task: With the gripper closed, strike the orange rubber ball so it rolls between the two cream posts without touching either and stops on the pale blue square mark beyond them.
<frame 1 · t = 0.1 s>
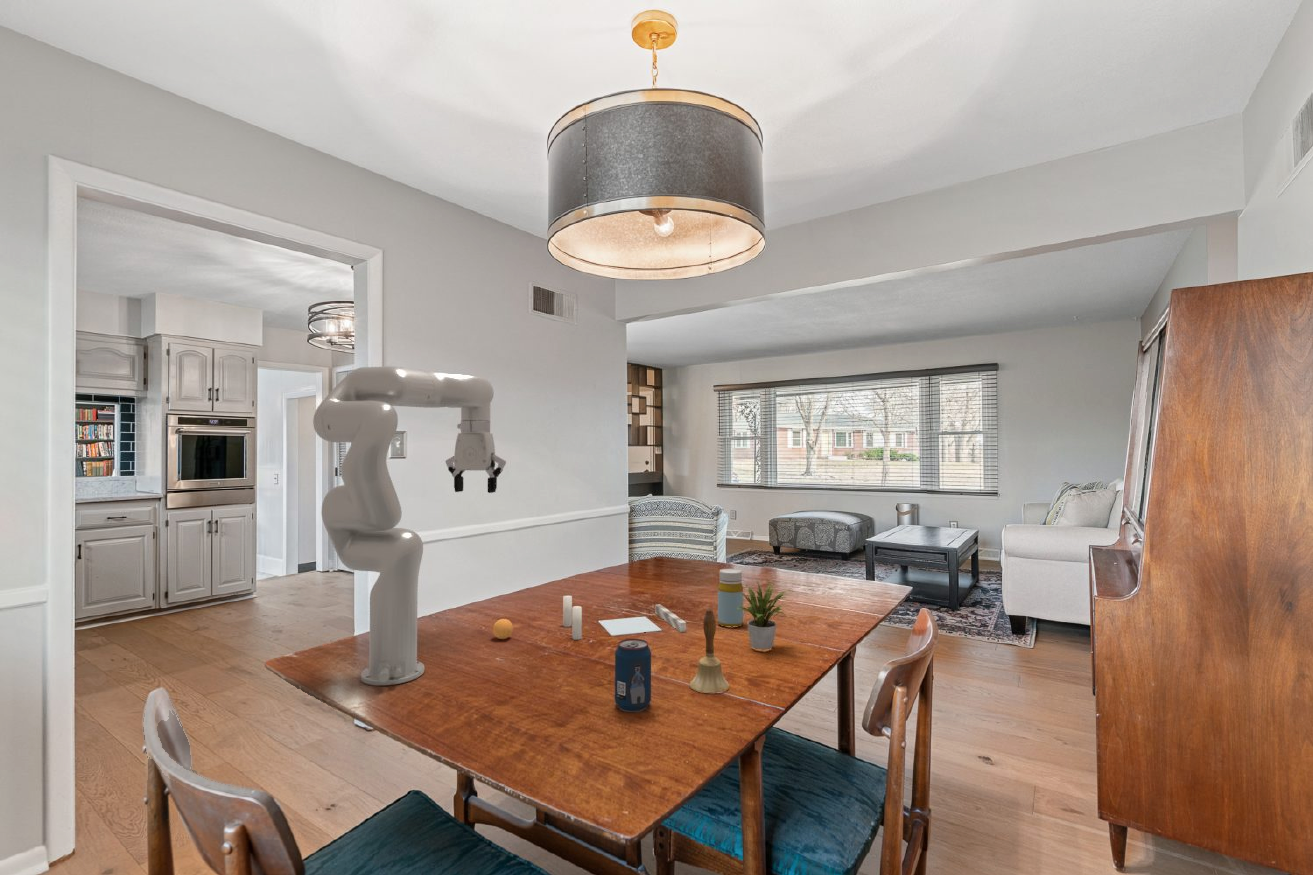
hand: (475, 491, 166), 37 cm above the table, tool pointing down, fingers open, 9 cm apart
post far: (567, 625, 171), on the table
bottle: (730, 625, 172), on the table
house plant: (764, 651, 151), on the table
post near: (576, 638, 160), on the table
ball: (502, 628, 159), on the table
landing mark: (629, 626, 171), on the table
soda can: (632, 707, 119), on the table
hand bell: (709, 687, 129), on the table
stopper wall: (669, 621, 175), on the table
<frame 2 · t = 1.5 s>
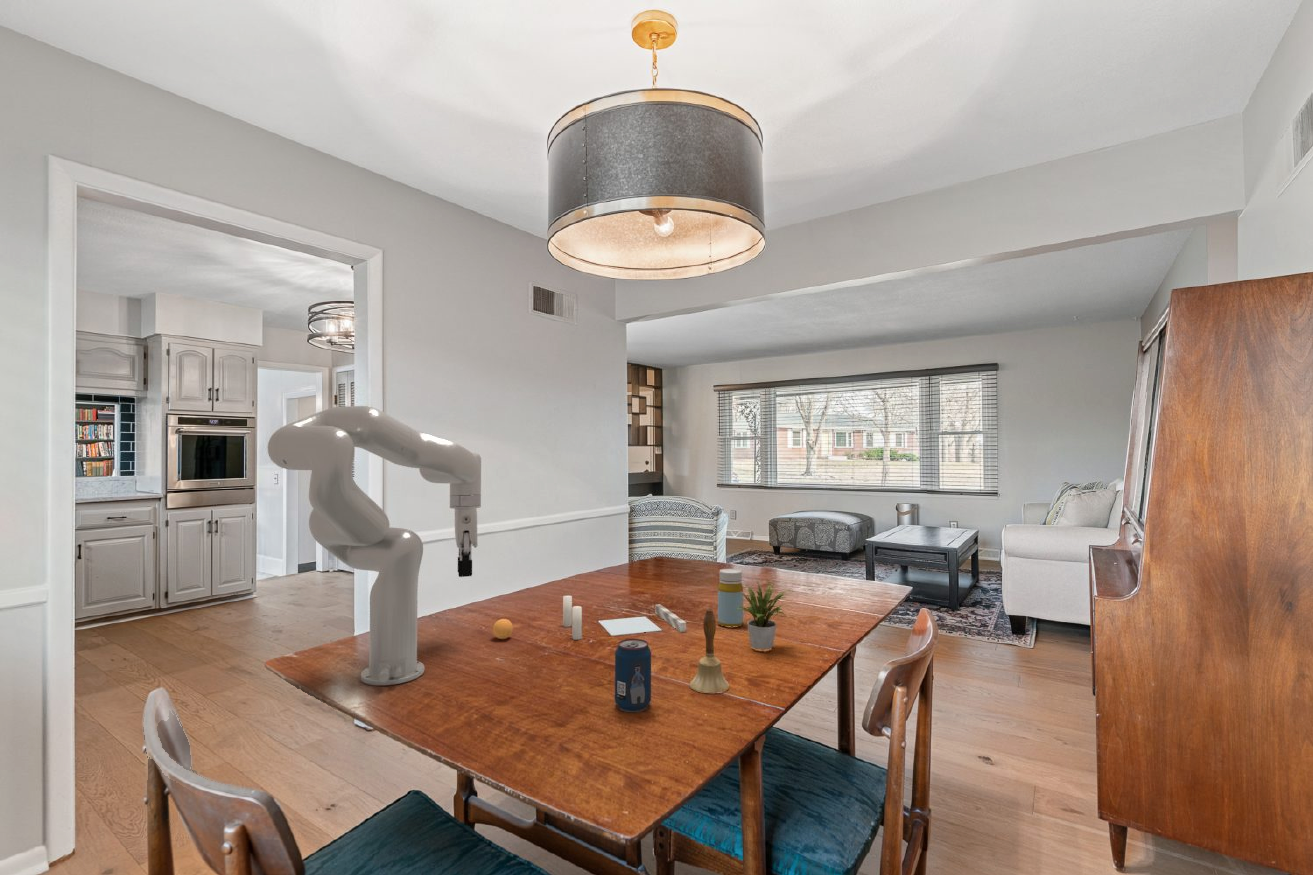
hand: (464, 573, 156), 17 cm above the table, tool pointing down, fingers open, 4 cm apart
nothing on the table moved.
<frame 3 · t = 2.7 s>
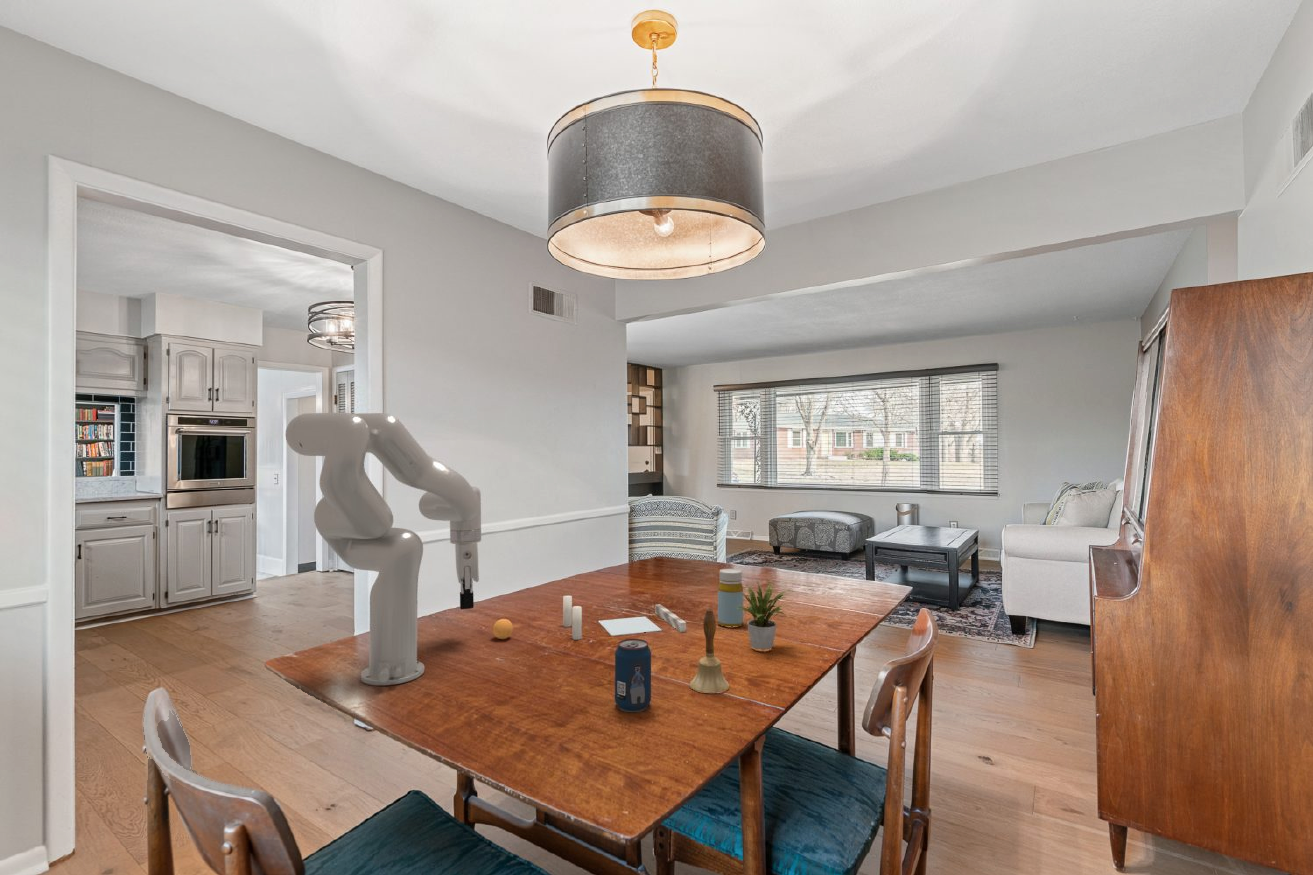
hand: (466, 607, 157), 8 cm above the table, tool pointing down, fingers closed
nothing on the table moved.
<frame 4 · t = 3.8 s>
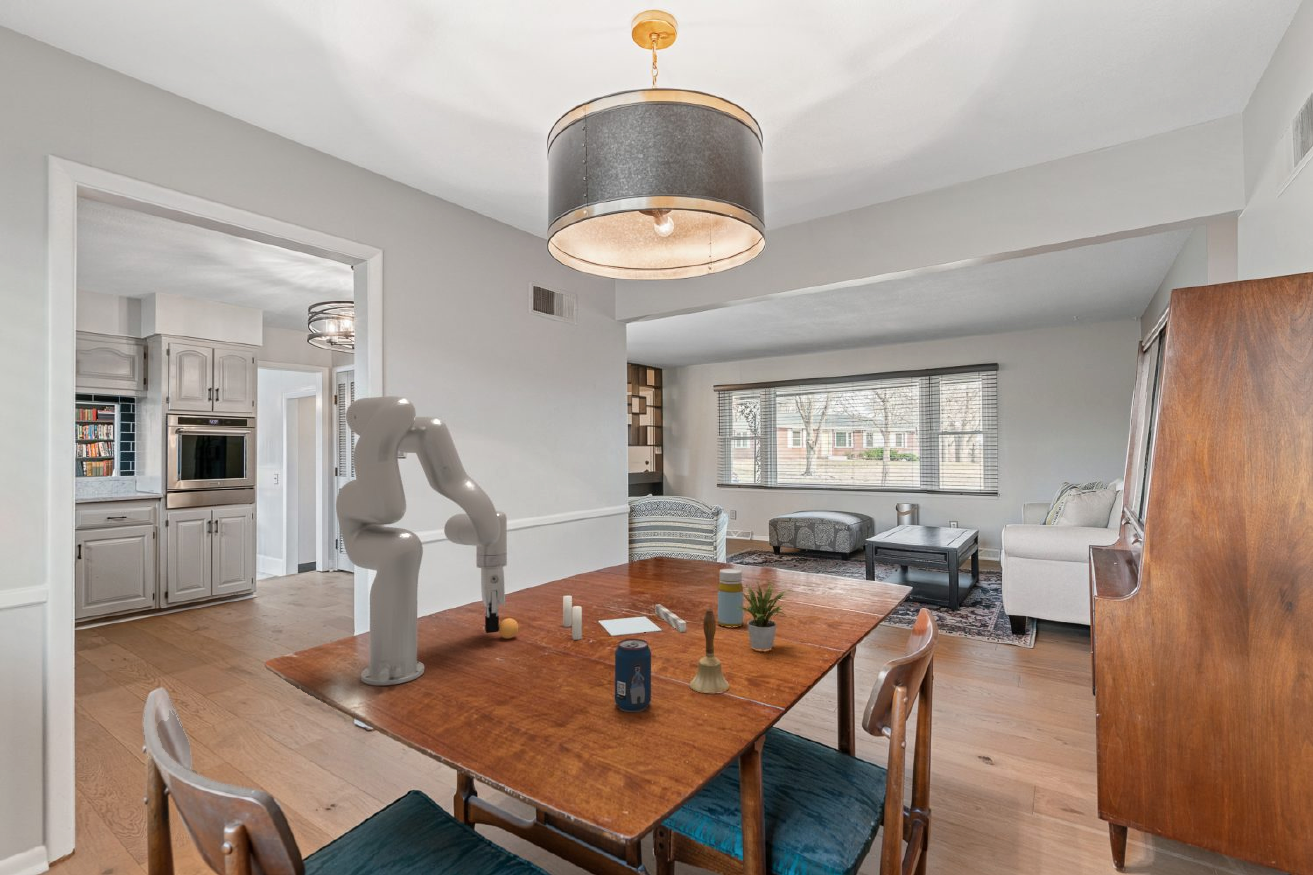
hand: (491, 631, 159), 2 cm above the table, tool pointing down, fingers closed
ball: (508, 628, 160), on the table
everything else where it was.
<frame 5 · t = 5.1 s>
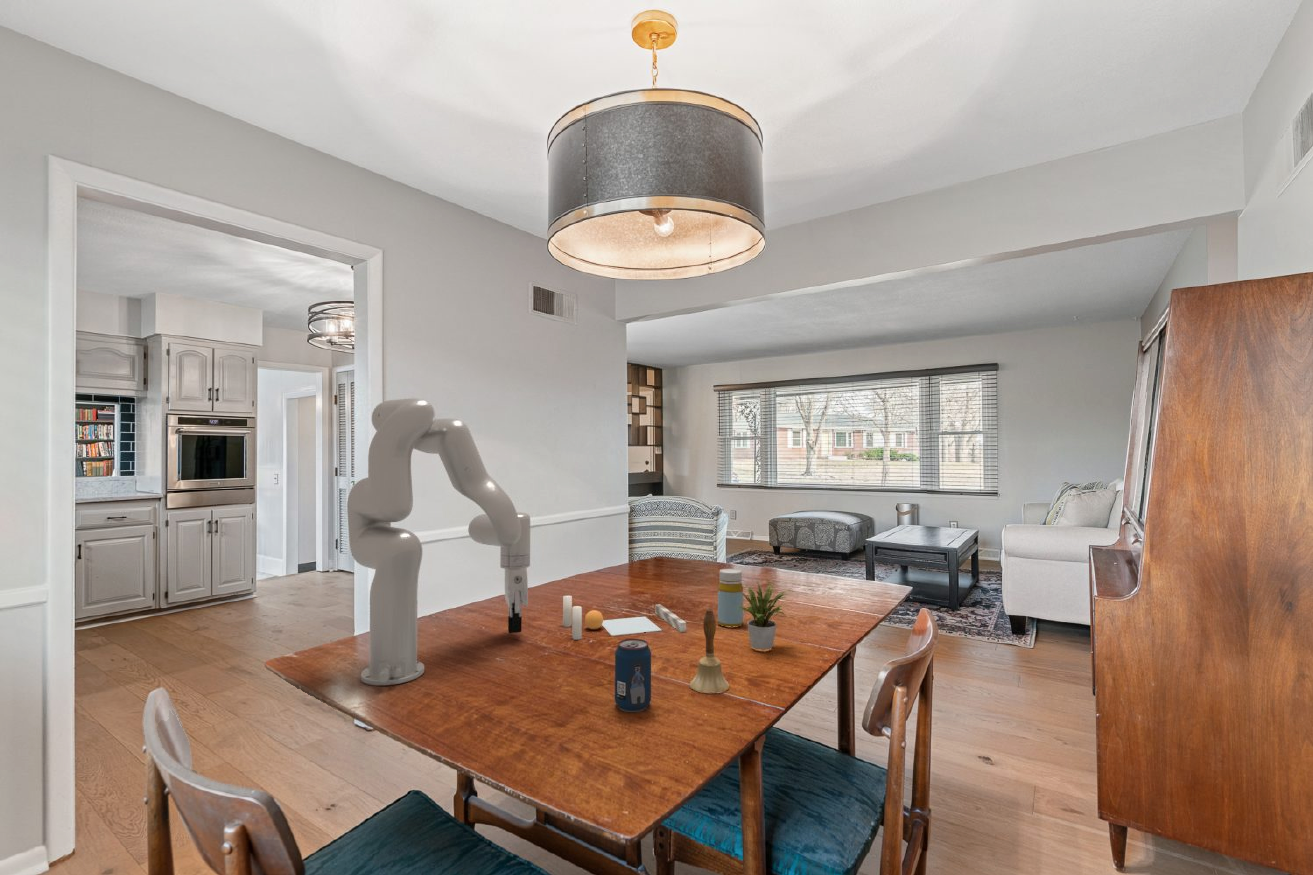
hand: (514, 631, 160), 2 cm above the table, tool pointing down, fingers closed
ball: (594, 619, 168), on the table
everything else where it was.
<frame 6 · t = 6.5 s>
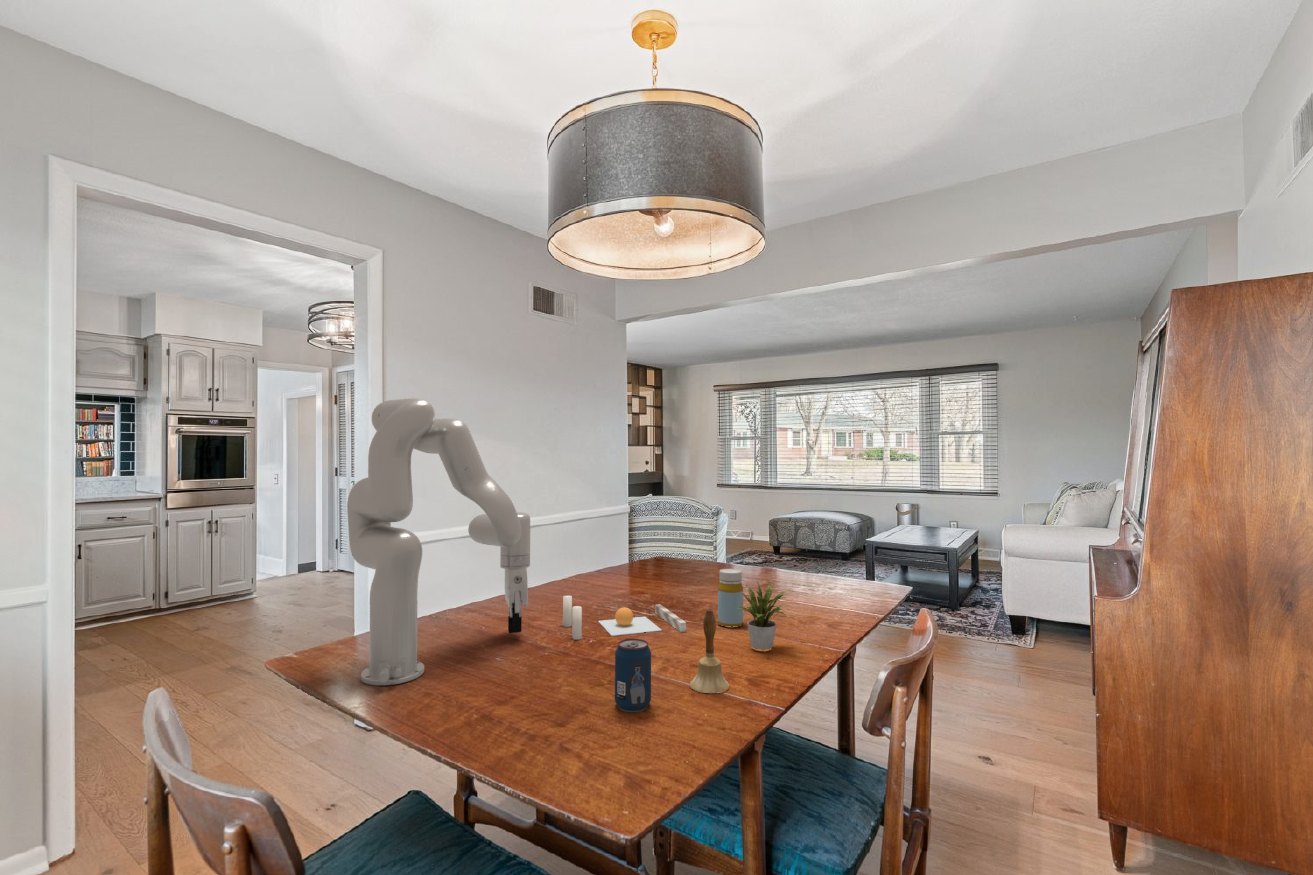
hand: (514, 631, 160), 2 cm above the table, tool pointing down, fingers closed
ball: (624, 616, 171), on the table
everything else where it was.
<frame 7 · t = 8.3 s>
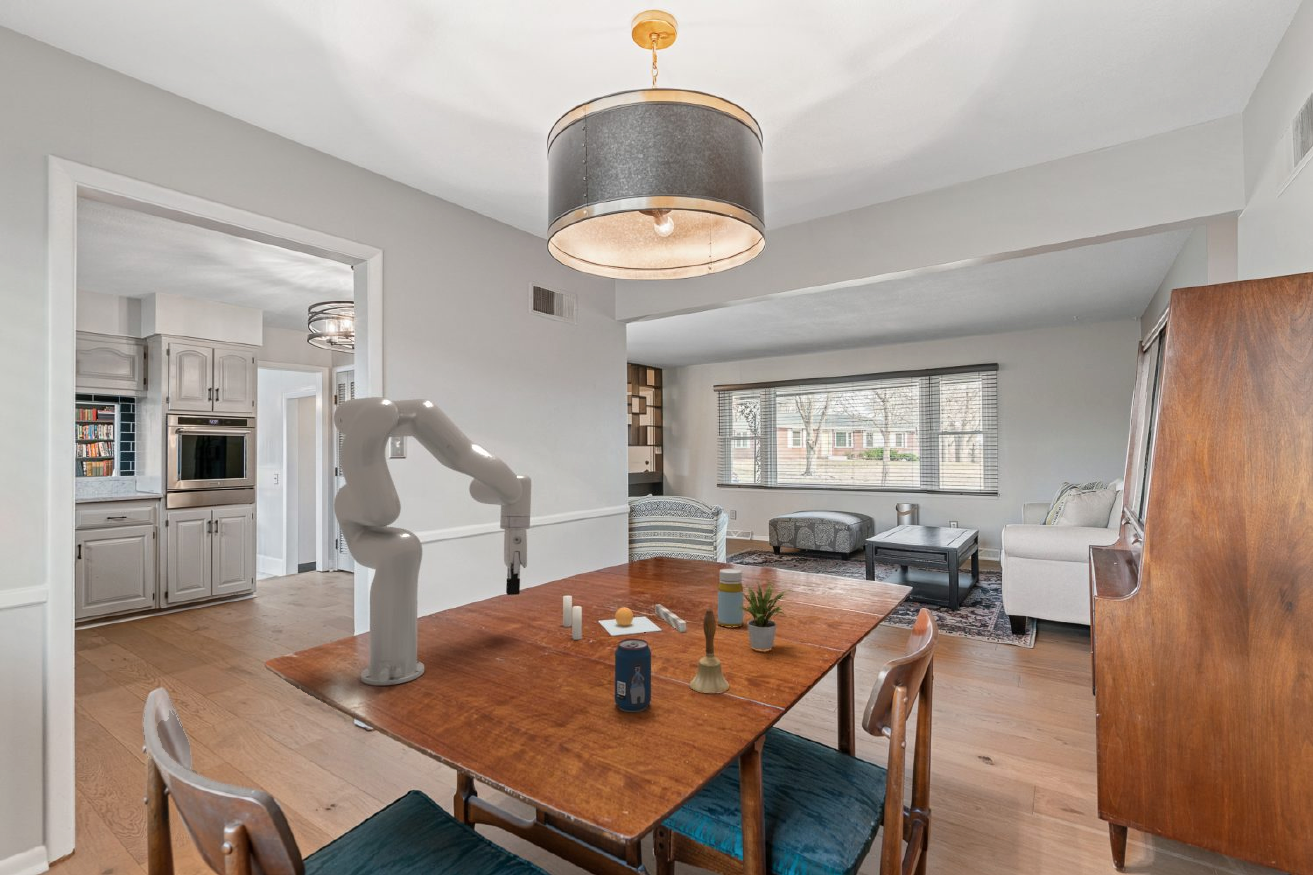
hand: (512, 593, 160), 11 cm above the table, tool pointing down, fingers closed
nothing on the table moved.
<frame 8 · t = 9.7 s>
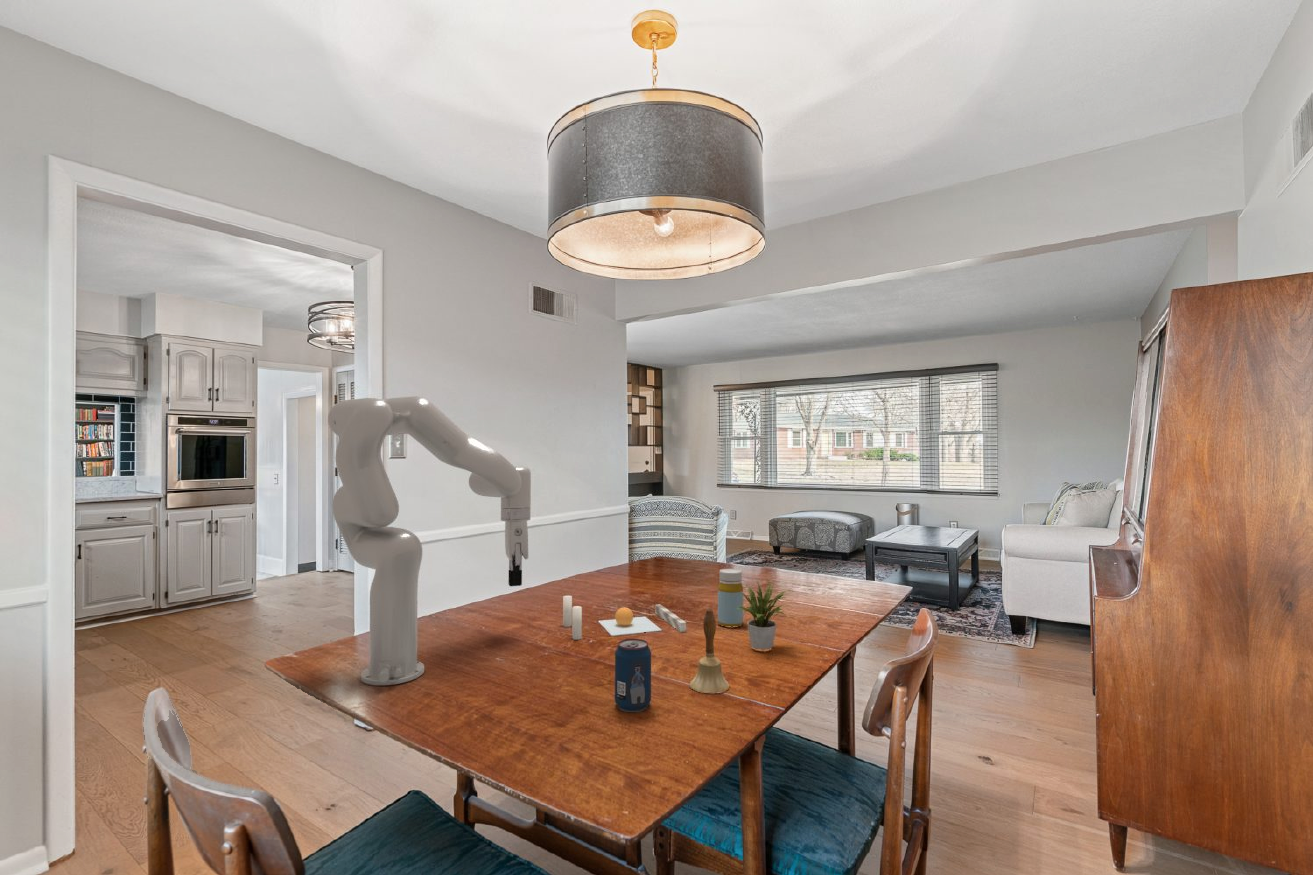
hand: (515, 585, 160), 13 cm above the table, tool pointing down, fingers closed
nothing on the table moved.
at the end: ball 1.4 cm from the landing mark (horizontally); ball never touched post near; ball never touched post far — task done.
